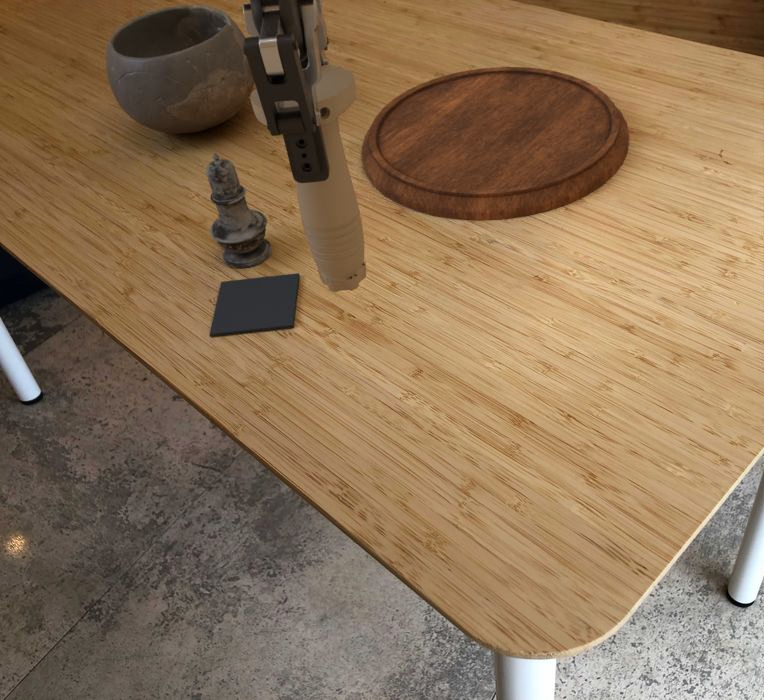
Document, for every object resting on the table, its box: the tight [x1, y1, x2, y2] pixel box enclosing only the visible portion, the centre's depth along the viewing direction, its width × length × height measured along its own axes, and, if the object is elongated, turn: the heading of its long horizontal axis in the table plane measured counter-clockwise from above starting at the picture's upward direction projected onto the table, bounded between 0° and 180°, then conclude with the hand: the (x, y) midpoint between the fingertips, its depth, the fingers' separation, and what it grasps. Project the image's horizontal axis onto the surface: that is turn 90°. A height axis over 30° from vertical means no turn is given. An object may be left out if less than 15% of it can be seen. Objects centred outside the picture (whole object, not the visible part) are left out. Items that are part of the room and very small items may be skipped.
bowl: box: [105, 4, 255, 134], centre depth 108 cm, size 18×18×13 cm
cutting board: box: [361, 66, 630, 221], centre depth 101 cm, size 32×32×2 cm
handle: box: [249, 64, 367, 293], centre depth 57 cm, size 5×6×15 cm
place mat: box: [209, 272, 301, 338], centre depth 83 cm, size 8×8×1 cm
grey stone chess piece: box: [205, 152, 273, 269], centre depth 86 cm, size 6×6×12 cm
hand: (316, 152), depth 55 cm, fingers closed on handle, 5 cm apart
